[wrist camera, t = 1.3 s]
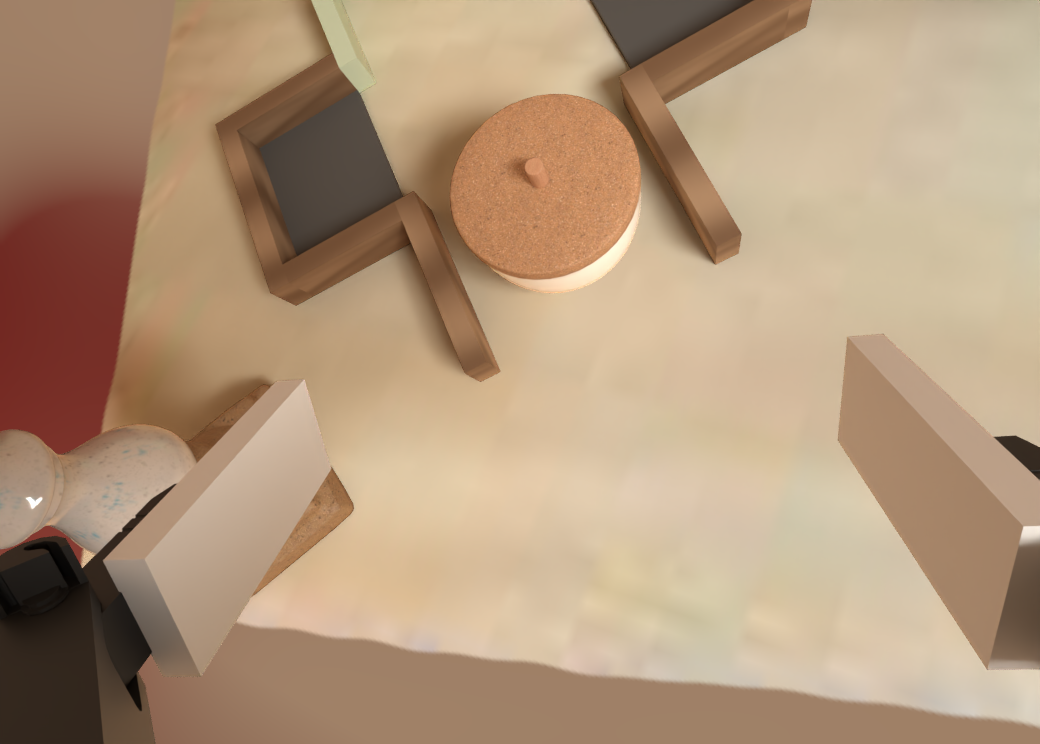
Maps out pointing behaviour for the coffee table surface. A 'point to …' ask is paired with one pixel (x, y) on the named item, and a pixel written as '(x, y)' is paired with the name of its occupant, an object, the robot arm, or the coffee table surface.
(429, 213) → the track
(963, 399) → the coffee table surface
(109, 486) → the candle holder
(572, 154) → the lidded jar
